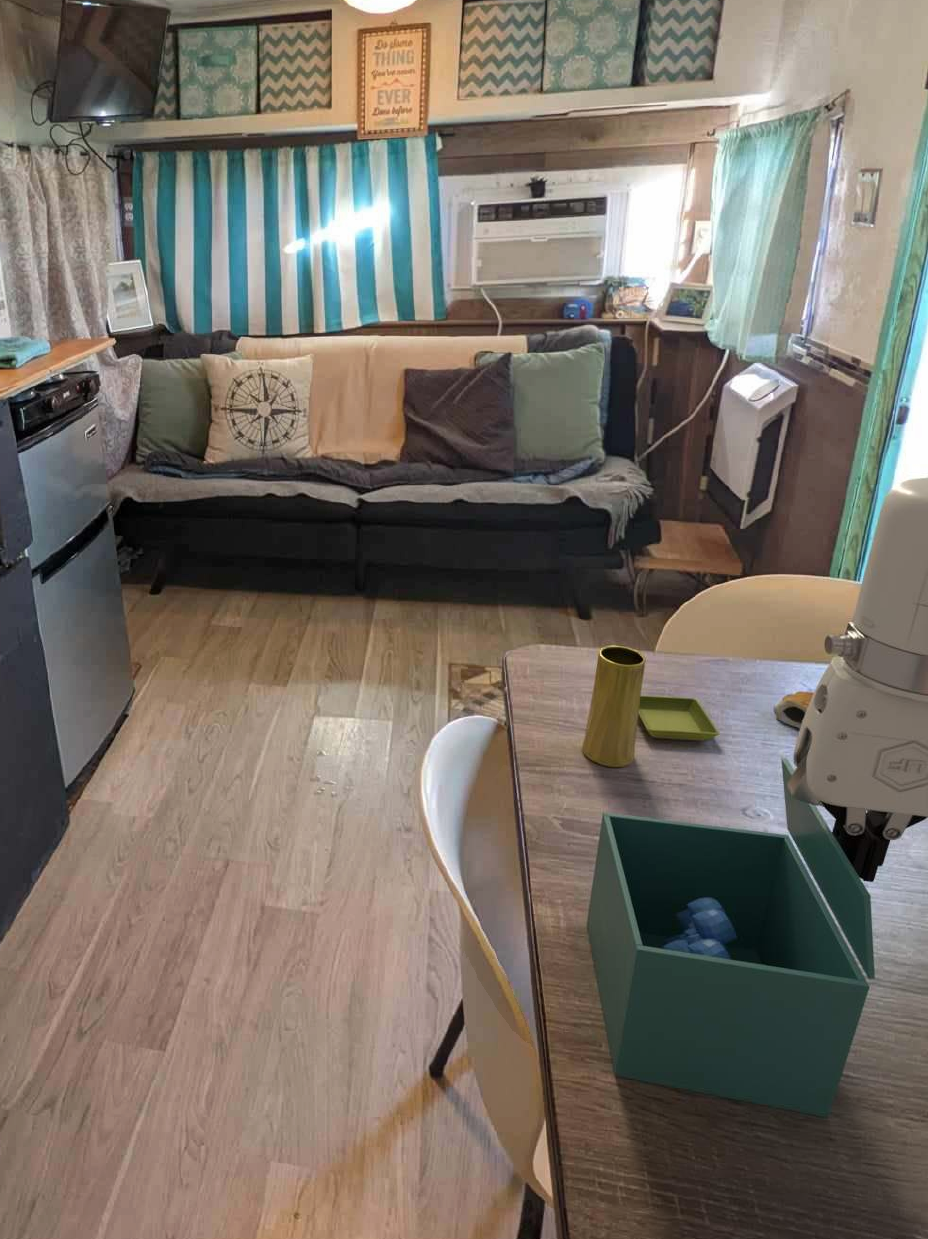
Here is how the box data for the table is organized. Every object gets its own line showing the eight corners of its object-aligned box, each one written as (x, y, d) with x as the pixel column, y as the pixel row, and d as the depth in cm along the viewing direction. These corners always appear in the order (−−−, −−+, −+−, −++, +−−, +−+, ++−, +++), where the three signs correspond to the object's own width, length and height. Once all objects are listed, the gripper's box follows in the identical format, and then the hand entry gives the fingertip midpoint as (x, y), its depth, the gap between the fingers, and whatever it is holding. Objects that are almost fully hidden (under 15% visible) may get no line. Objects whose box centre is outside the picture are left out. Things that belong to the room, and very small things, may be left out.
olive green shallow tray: (694, 710, 115) (696, 697, 114) (718, 747, 107) (721, 733, 106) (626, 707, 117) (628, 694, 116) (645, 743, 109) (647, 729, 108)
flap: (787, 828, 73) (792, 828, 73) (868, 979, 59) (875, 979, 59) (781, 758, 71) (786, 757, 71) (863, 895, 57) (870, 895, 56)
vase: (585, 735, 111) (598, 639, 106) (636, 747, 108) (652, 649, 103) (578, 760, 106) (591, 661, 101) (631, 773, 103) (648, 672, 98)
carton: (759, 951, 78) (788, 834, 73) (828, 1118, 64) (870, 986, 59) (586, 924, 82) (602, 812, 77) (614, 1076, 67) (637, 949, 63)
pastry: (812, 699, 117) (818, 675, 115) (864, 723, 111) (871, 698, 109) (767, 716, 113) (773, 692, 112) (818, 742, 107) (825, 717, 106)
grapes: (710, 1079, 69) (770, 1044, 60) (624, 1031, 72) (670, 991, 63) (736, 949, 75) (793, 901, 67) (656, 910, 78) (701, 859, 69)
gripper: (810, 674, 56) (758, 887, 63) (1082, 696, 53) (996, 921, 59) (771, 624, 63) (728, 822, 70) (1010, 641, 59) (940, 848, 66)
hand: (851, 867), depth 64 cm, fingers closed
